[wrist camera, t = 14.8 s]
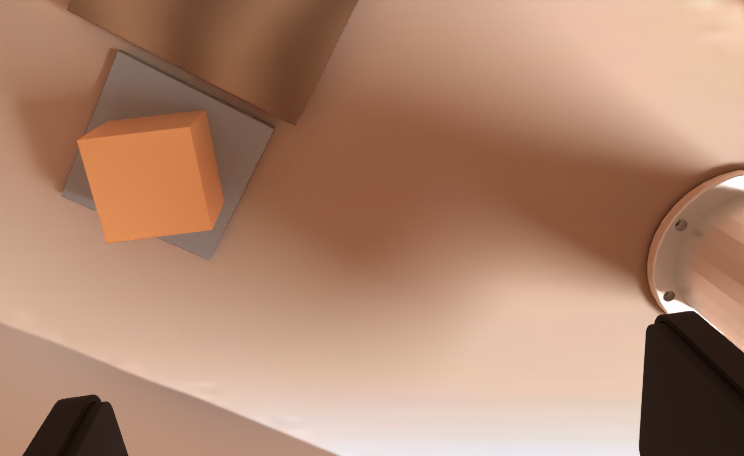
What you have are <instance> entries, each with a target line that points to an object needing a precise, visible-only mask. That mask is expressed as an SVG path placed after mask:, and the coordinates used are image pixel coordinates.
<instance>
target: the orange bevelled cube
mask: <svg viewBox="0 0 744 456" xmlns="http://www.w3.org/2000/svg"><path fill="white" fill-rule="evenodd" d="M77 143H78V146H79V150H80V153H81V157H82V160H83V164H84V167H85V171H86V174H87V177H88V181H89V184H90V188H91V191H92V195H93V198H94V202H95V205H96V209H97V212H98V216H99V219H100V223H101V226H102V230H103V233H104V237H105V240H106V243H112V242H120V241H128V240H136V239H144V238H152V237H160V236H168V235H176V234H184V233H192V232H200V231H208V230H212V229H213V227H214V224H215V222H216V220H217V218H218V215H219V213H220V211H221V209H222V206H223V204H224V197H223V192H222V187H221V182H220V177H219V172H218V167H217V163H216V158H215V153H214V148H213V143H212V138H211V133H210V128H209V123H208V119H207V114H206V110H198V111H189V112H181V113H173V114H164V115H156V116H147V117H139V118H130V119H122V120H114V121H107V122H105V123H103V124H102V125H100V126H99V127H97V128H95V129H94V130H92V131H91V132H89V133H88V134H86V135H84V136H83V137H81V138H80V139H78V140H77Z"/></svg>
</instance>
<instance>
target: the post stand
mask: <svg viewBox="0 0 744 456" xmlns="http://www.w3.org/2000/svg"><path fill="white" fill-rule="evenodd" d="M357 2H358V0H70V3H69V5H68V8H67V10H68V11H70V12H72V13H74V14H76V15H78V16H80V17H82V18H84V19H86V20H88V21H90V22H92V23H94V24H96V25H98V26H100V27H102V28H104V29H106V30H107V31H109V32H111V33H113V34H115V35H117V36H119V37H121V38H123V39H125V40H127V41H129V42H131V43H133V44H135V45H137V46H139V47H141V48H143V49H145V50H147V51H149V52H151V53H153V54H155V55H157V56H159V57H161V58H163V59H165V60H166V61H168V62H170V63H172V64H174V65H176V66H178V67H180V68H182V69H184V70H186V71H188V72H190V73H192V74H194V75H196V76H198V77H200V78H202V79H204V80H206V81H208V82H210V83H212V84H214V85H216V86H218V87H220V88H222V89H224V90H226V91H227V92H229V93H231V94H233V95H235V96H237V97H239V98H241V99H243V100H245V101H247V102H249V103H251V104H253V105H255V106H257V107H259V108H261V109H263V110H265V111H267V112H269V113H271V114H273V115H275V116H277V117H279V118H281V119H283V120H285V121H286V122H288V123H290V124H292V125H294V126H295V125H296V123H297V121H298V119H299V117H300V115H301V113H302V111H303V109H304V107H305V105H306V103H307V101H308V99H309V97H310V95H311V93H312V91H313V89H314V87H315V85H316V83H317V81H318V79H319V77H320V75H321V73H322V71H323V69H324V67H325V65H326V63H327V61H328V59H329V57H330V55H331V53H332V51H333V49H334V47H335V45H336V43H337V41H338V39H339V37H340V35H341V33H342V31H343V29H344V27H345V26H346V24H347V22H348V20H349V18H350V16H351V14H352V12H353V10H354V8H355V6H356V4H357Z"/></svg>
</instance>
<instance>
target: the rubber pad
mask: <svg viewBox="0 0 744 456" xmlns="http://www.w3.org/2000/svg"><path fill="white" fill-rule="evenodd" d="M198 110H206V114H207V119H208V123H209V128H210V133H211V138H212V143H213V148H214V153H215V158H216V163H217V167H218V172H219V177H220V182H221V187H222V192H223V197H224V204H223V206H222V209H221V211H220V213H219V215H218V218H217V220H216V222H215V224H214V227H213V229H212V230H208V231H200V232H192V233H184V234H176V235H168V236H160V237H157V238H159V239H161V240H164V241H166V242H168V243H171V244H173V245H175V246H178V247H180V248H182V249H184V250H187V251H189V252H191V253H194V254H196V255H198V256H201V257H203V258H205V259H207V260H210V259H211V256H212V254H213V252H214V250H215V248H216V246H217V244H218V242H219V240H220V238H221V236H222V234H223V232H224V230H225V228H226V226H227V224H228V222H229V220H230V218H231V216H232V214H233V212H234V210H235V208H236V206H237V204H238V202H239V200H240V198H241V196H242V194H243V192H244V189H245V187H246V185H247V183H248V181H249V179H250V177H251V175H252V173H253V171H254V169H255V167H256V165H257V163H258V161H259V159H260V157H261V155H262V153H263V151H264V149H265V147H266V145H267V143H268V141H269V139H270V137H271V135H272V133H273V131H274V128H275V127H273V126H271V125H269V124H267V123H265V122H263V121H261V120H259V119H257V118H255V117H253V116H251V115H249V114H247V113H245V112H243V111H241V110H239V109H237V108H235V107H233V106H231V105H229V104H227V103H225V102H223V101H221V100H219V99H217V98H215V97H213V96H211V95H209V94H207V93H205V92H203V91H201V90H199V89H197V88H195V87H193V86H191V85H189V84H187V83H185V82H183V81H181V80H179V79H177V78H175V77H173V76H171V75H169V74H167V73H165V72H163V71H161V70H159V69H157V68H155V67H153V66H151V65H149V64H147V63H145V62H143V61H141V60H139V59H137V58H135V57H134V56H132V55H130V54H128V53H126V52H124V51H122V50H120V51H118V52H117V55H116V57H115V60H114V62H113V65H112V68H111V70H110V73H109V75H108V78H107V80H106V83H105V85H104V88H103V90H102V93H101V95H100V98H99V101H98V103H97V106H96V108H95V111H94V113H93V116H92V118H91V121H90V123H89V126H88V128H87V131H86V134H88V133H89V132H91V131H92V130H94V129H95V128H97V127H99V126H100V125H102V124H103V123H105V122H107V121H114V120H122V119H130V118H139V117H147V116H156V115H164V114H173V113H181V112H189V111H198ZM86 134H85V135H86ZM61 196H62V197H65V198H67V199H69V200H72V201H74V202H76V203H79V204H81V205H83V206H85V207H88V208H90V209H92V210H95V211H97V209H96V205H95V202H94V198H93V195H92V191H91V188H90V184H89V181H88V177H87V174H86V171H85V167H84V164H83V160H82V157H81V153H80V150H79V151H78V154H77V156H76V159H75V161H74V164H73V166H72V169H71V172H70V174H69V177H68V179H67V182H66V184H65V187H64V189H63V192H62V194H61Z"/></svg>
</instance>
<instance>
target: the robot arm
mask: <svg viewBox="0 0 744 456" xmlns="http://www.w3.org/2000/svg"><path fill="white" fill-rule="evenodd" d="M647 274H648V282H649V286H650V289H651V293H652V295H653V296H654V298H655V300H656V302H657V303H658V305H659V306H660V307H661V308H662V309H663V310H664V311H665V312H666V313H667V314H662V315H659V316H657V318H656V320H655V323H654V324H651V325H649V326H648V327H647V330H646V341H645V357H644V373H643V389H642V405H641V421H640V437H639V451H640V456H744V353H743V352H744V170H736V171H732V172H729V173H725V174H722V175H719V176H717V177H714V178H712V179H710V180H708V181H706V182H704V183H702V184H701V185H699V186H698V187H696V188H695V189H693V190H692V191H690V192H689V193H687V194H686V195H685V196H684V197H683V198H682V199H681V200H680V201H679V202H678V203H676V204H675V205H674V207H673V208H672V209H671V210H670V212H669V213H668V214H667V215H666V217H665V218H664V219H663V221H662V223H661V224H660V226H659V228H658V230H657V231H656V233H655V235H654V238H653V241H652V244H651V247H650V250H649V256H648V262H647ZM722 334H724V335H725V336H726V337H727V338H728V339H729V340H731V341H732V342H733V343H734V344H735V345H736V346H738V347H739V348H740V349H741V350H742V351H743V352H742V351H741V350H740V349H739V348H738V347H736V346H735V345H734V344H733V343H732V342H731V341H729V340H728V339H727V338H726V337H725V336H724V335H722ZM23 456H128V454H127V450H126V447H125V445H124V442H123V438H122V435H121V432H120V429H119V426H118V423H117V420H116V417H115V414H114V411H113V408H112V406H111V404H110V403H109V402H101V400H100V399H99V397H98V396H96V395H87V396H80V397H73V398H66V399H61V400H59V401H58V402H57V403H56V404H55V405H54V407H53V408H52V410H51V411H50V413H49V415H48V416H47V418H46V419H45V421H44V422H43V424H42V426H41V427H40V429H39V430H38V432H37V433H36V435H35V437H34V438H33V440H32V442H31V443H30V445H29V446H28V448H27V449H26V451H25V452H24V454H23Z"/></svg>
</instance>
